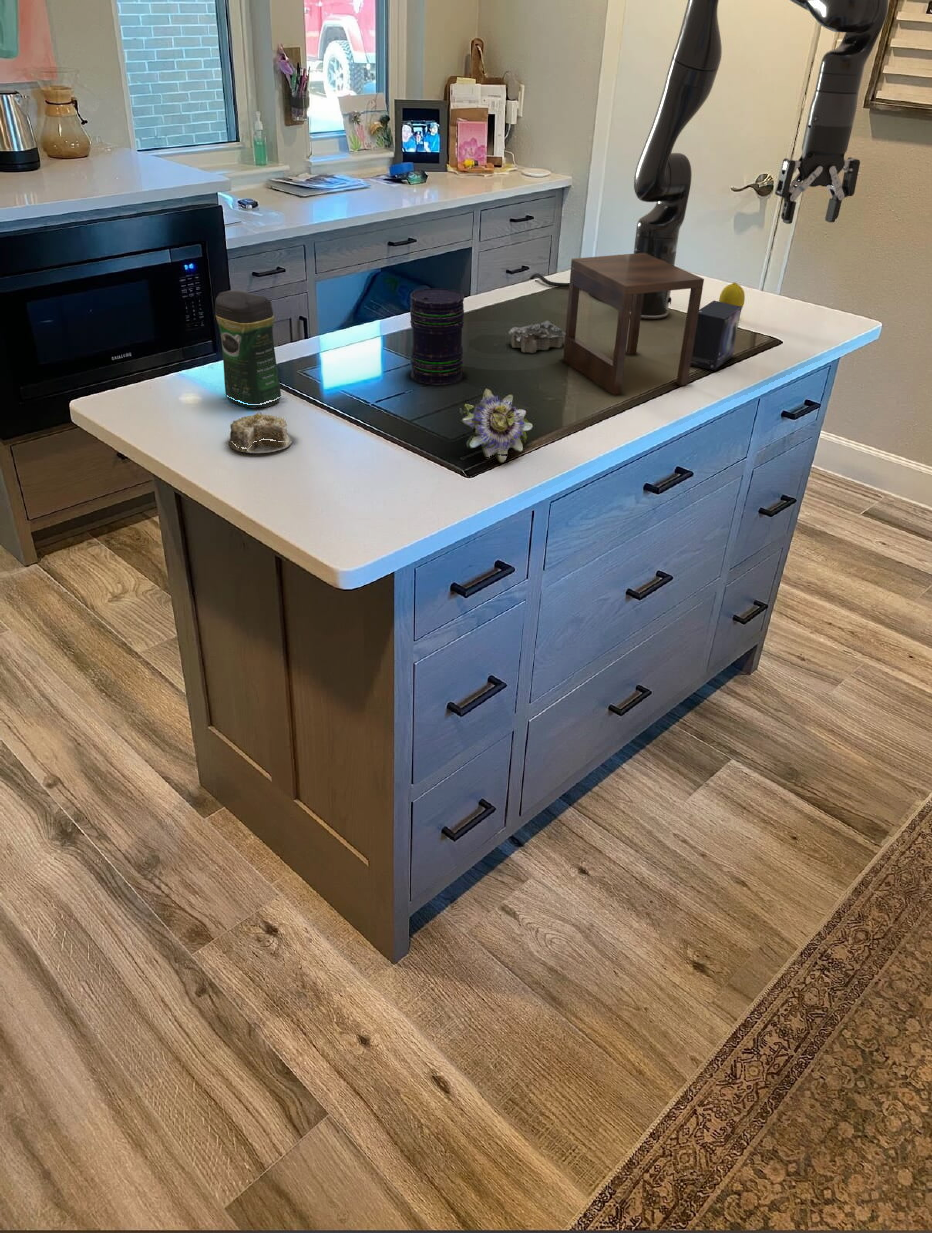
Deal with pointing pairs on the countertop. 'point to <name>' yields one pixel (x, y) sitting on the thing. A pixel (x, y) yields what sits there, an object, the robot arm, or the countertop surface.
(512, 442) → the passion flower
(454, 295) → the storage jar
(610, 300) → the shelf
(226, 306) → the coffee jar
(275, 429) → the cake
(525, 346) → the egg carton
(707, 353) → the small box
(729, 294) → the lemon
